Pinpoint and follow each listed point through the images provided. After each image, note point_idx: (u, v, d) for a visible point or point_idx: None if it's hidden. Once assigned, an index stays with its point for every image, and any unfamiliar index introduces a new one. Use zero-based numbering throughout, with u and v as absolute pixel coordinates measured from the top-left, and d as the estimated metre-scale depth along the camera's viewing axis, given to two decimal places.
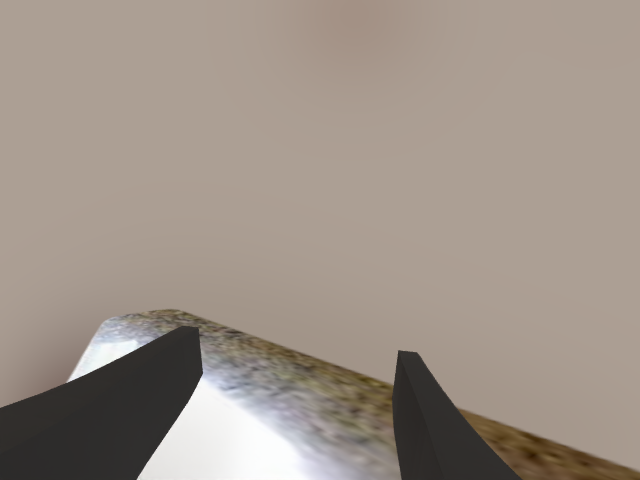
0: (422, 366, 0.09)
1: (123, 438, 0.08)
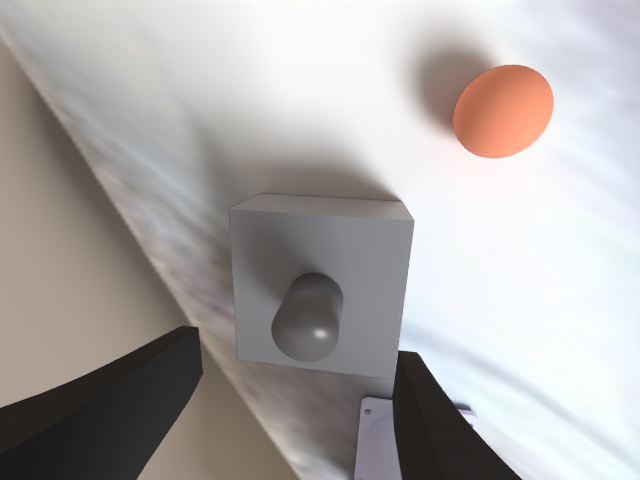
0: (422, 365, 0.09)
1: (123, 438, 0.08)
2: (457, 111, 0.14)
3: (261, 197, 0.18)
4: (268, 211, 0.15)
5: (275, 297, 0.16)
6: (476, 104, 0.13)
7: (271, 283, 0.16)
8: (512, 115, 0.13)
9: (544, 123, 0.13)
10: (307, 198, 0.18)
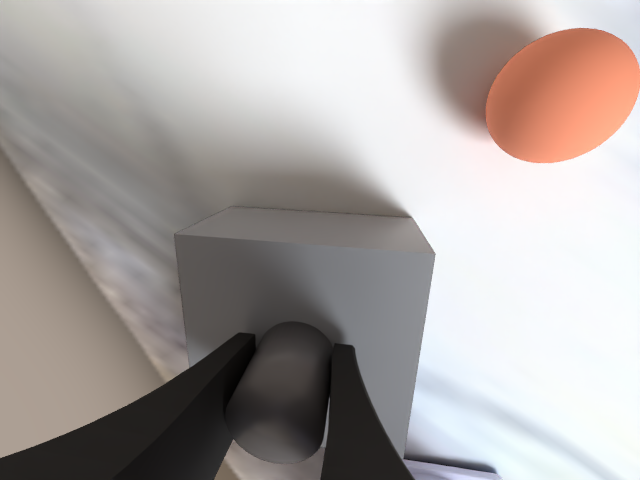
0: (350, 357, 0.09)
1: (200, 451, 0.08)
2: (494, 97, 0.10)
3: (229, 213, 0.14)
4: (228, 237, 0.10)
5: None
6: (526, 85, 0.09)
7: None
8: (584, 100, 0.09)
9: (627, 113, 0.09)
10: (289, 214, 0.14)
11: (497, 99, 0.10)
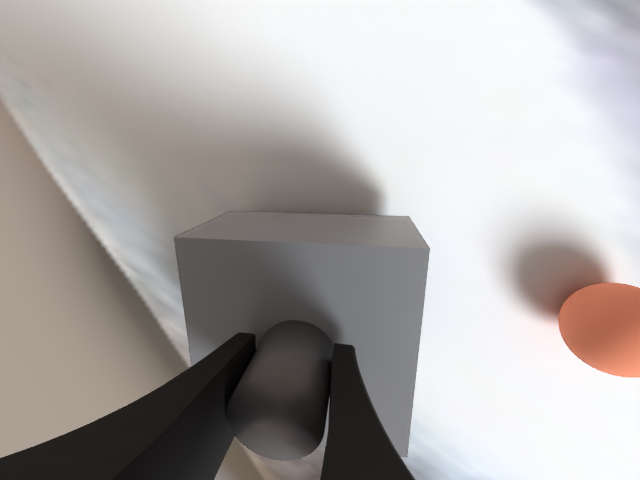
0: (350, 357, 0.09)
1: (200, 451, 0.08)
2: (571, 326, 0.14)
3: (228, 216, 0.14)
4: (227, 239, 0.11)
5: None
6: (600, 337, 0.13)
7: None
8: None
9: None
10: (287, 216, 0.14)
11: (574, 329, 0.14)
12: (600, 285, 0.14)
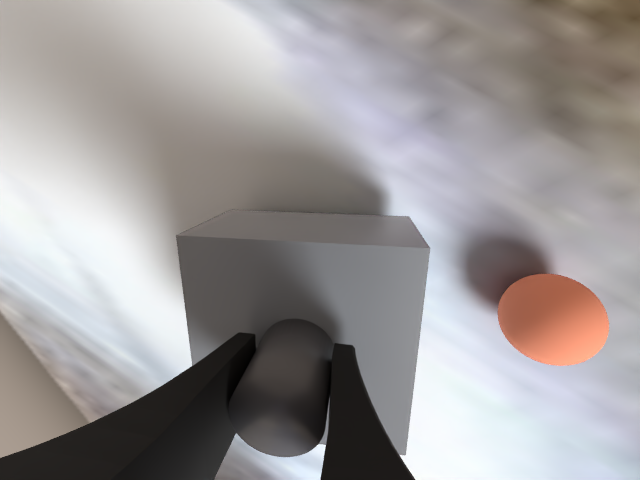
0: (350, 357, 0.09)
1: (200, 451, 0.08)
2: None
3: (229, 215, 0.14)
4: (229, 238, 0.11)
5: None
6: None
7: None
8: (498, 313, 0.15)
9: (522, 339, 0.13)
10: (288, 215, 0.14)
11: None
12: None
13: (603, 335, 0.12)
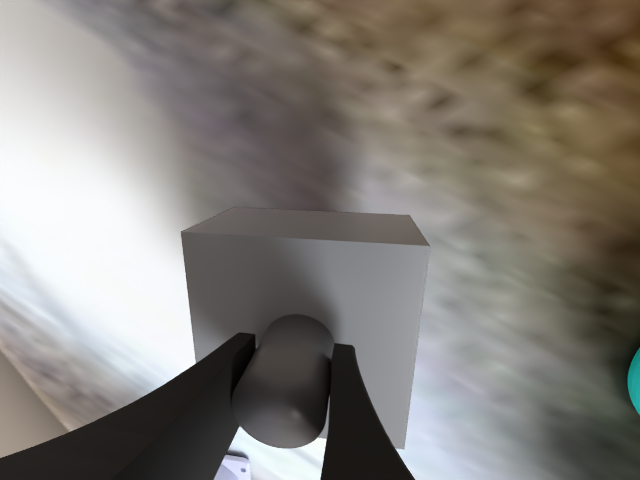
0: (350, 357, 0.09)
1: (200, 451, 0.08)
2: None
3: (232, 213, 0.14)
4: (233, 234, 0.11)
5: None
6: None
7: (241, 327, 0.12)
8: None
9: None
10: (290, 213, 0.14)
11: None
12: None
13: None
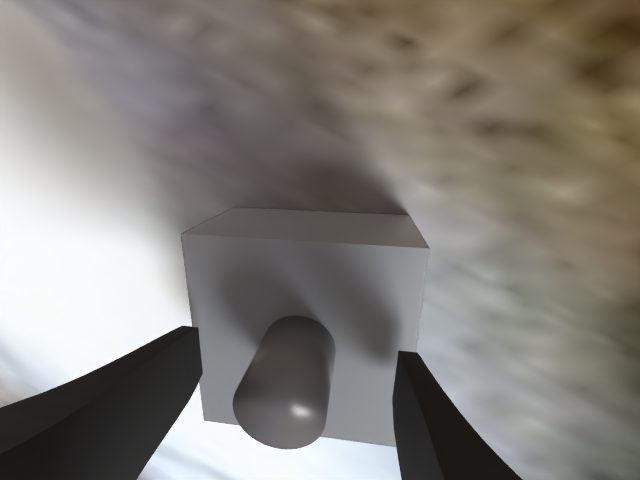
0: (422, 365, 0.09)
1: (123, 438, 0.08)
2: None
3: (232, 213, 0.14)
4: (233, 236, 0.11)
5: (247, 345, 0.12)
6: None
7: (242, 328, 0.12)
8: None
9: None
10: (290, 213, 0.14)
11: None
12: None
13: None
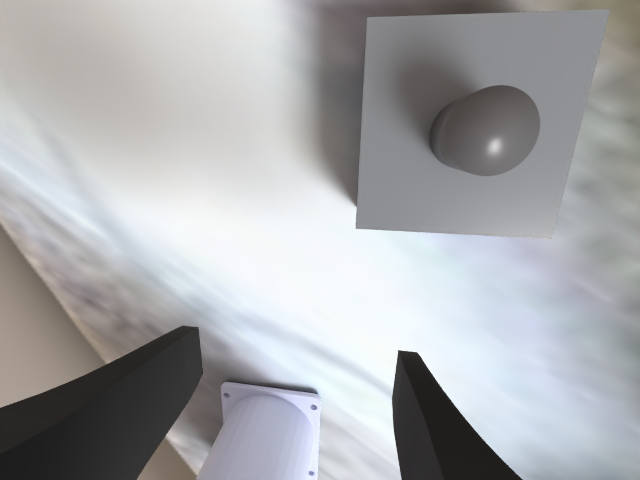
0: (422, 366, 0.09)
1: (123, 438, 0.08)
2: None
3: None
4: (417, 16, 0.12)
5: (413, 137, 0.13)
6: None
7: (411, 118, 0.13)
8: None
9: None
10: None
11: None
12: None
13: None
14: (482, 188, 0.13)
